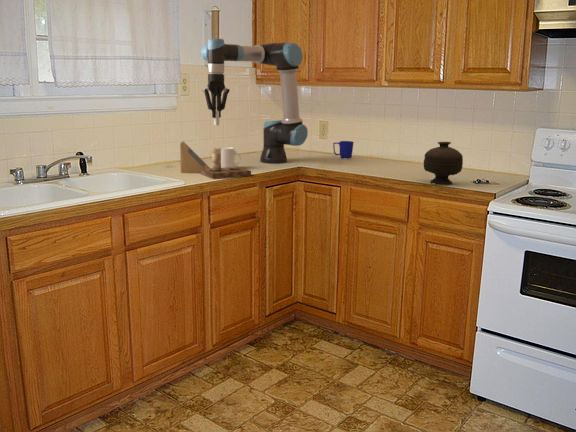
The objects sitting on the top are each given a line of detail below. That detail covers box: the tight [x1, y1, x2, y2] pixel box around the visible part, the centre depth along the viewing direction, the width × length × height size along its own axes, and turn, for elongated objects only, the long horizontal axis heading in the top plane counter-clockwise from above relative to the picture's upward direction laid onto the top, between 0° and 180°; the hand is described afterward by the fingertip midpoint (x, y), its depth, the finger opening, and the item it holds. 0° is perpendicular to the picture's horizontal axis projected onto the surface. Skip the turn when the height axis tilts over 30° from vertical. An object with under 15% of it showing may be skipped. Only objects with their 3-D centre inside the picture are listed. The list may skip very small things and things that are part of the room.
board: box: [200, 166, 252, 180], centre depth 278 cm, size 20×14×2 cm
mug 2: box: [332, 140, 354, 159], centre depth 345 cm, size 8×12×10 cm
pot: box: [423, 141, 464, 185], centre depth 268 cm, size 18×18×20 cm
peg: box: [211, 147, 221, 172], centre depth 275 cm, size 4×4×13 cm
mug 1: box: [218, 146, 242, 168], centre depth 297 cm, size 9×12×11 cm
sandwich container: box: [179, 141, 212, 174], centre depth 284 cm, size 9×15×15 cm, turn 91°
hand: (216, 124), depth 271 cm, fingers closed
